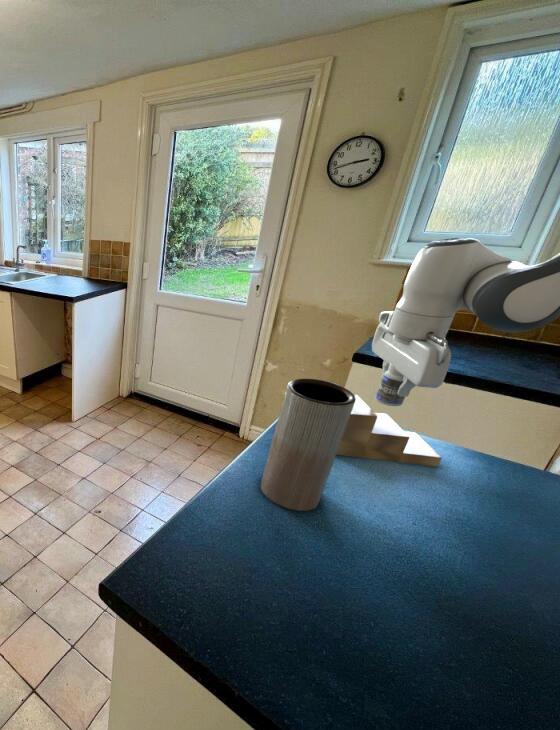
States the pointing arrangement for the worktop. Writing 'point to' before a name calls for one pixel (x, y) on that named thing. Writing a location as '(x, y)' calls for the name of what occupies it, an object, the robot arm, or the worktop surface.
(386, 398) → the pill bottle
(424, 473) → the worktop surface
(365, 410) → the small staircase
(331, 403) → the planter
